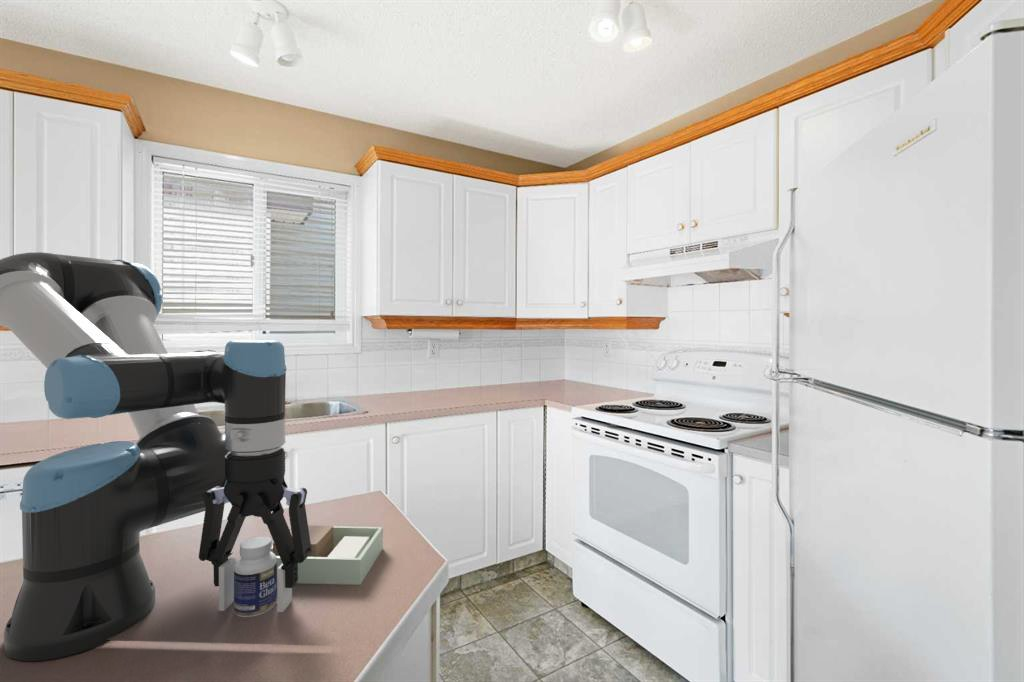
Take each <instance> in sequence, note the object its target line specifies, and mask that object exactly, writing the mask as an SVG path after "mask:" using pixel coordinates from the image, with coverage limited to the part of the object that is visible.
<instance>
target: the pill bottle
mask: <svg viewBox="0 0 1024 682" xmlns="http://www.w3.org/2000/svg"><path fill="white" fill-rule="evenodd" d="M272 541H273V540H272V538H270V537H268V536H256V537H251V538H248V539H245V540H243V541H242V542H241V543H240V544H239V556H240V557H239V558H238V559H236V563H235V565H234V602H233V612H234V615H236V616H238V617H241V618H251V617H257V616H260V615H263V614H265V613H266V612H269V611H270V610H272V609H273V608H274V607H275V605H276V604H277V558H276V555H275V554H274V553H273V552H271V548H272V545H273V543H272Z"/></svg>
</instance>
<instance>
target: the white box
mask: <svg viewBox="0 0 1024 682" xmlns="http://www.w3.org/2000/svg"><path fill="white" fill-rule="evenodd" d="M368 543H369V537H355V536H344V538H343V539H342V540H341V541H340V542H339V543H338V545H337V546H336V547H335V548H334V549H333V551H332V552H331V553H330V554H329V555H328V557H341V558H358V557H359V556H360V554H361V553H362V551H363V550H364V549H365V547H366V546H367V544H368Z"/></svg>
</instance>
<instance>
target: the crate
mask: <svg viewBox="0 0 1024 682" xmlns="http://www.w3.org/2000/svg"><path fill="white" fill-rule="evenodd" d="M332 526H333V549H334V548H335V547H336V546H337V545H338V543H339V542H340V541H341V540H342V539H343V538H344V536H355V537H369V543H368V544H367V546H366V547H365V549H364V550H363V551H362V553H361V554H360V556H359V557H358V558H341V557H307V558H306V559H305V560H304V561H303V562H302V563H298V580H297V583H296V584H302V585H303V584H305V585H307V584H308V585H310V584H312V585H345V586H346V585H347V586H350V585H353V586H361V584H362V583H363V581H364V580H365V578H366V576H367V575H368V573H369V572H370V570H371V568H372V567H373V565H374V564H375V562H376V560H377V559H378V557H379V556H380V554H381V552H382V551H383V549H384V548H383V547H384V546H383V544H384V540H383V539H384V528H383V527H382V526H351V525H350V526H349V525H348V526H347V525H346V526H345V525H343V526H342V525H339V526H338V525H337V526H336V525H332ZM271 552H273V544H272V548H271ZM276 558H277V568H278V567H279V566H280V565H281V564H282V561H281V558H280V556H276Z"/></svg>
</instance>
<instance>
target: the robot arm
mask: <svg viewBox="0 0 1024 682" xmlns="http://www.w3.org/2000/svg"><path fill="white" fill-rule="evenodd" d="M161 291H162V288H161V285H160V281H159V280H158V278H157V276H156V275H155V274H154V273H153V271H152V270H150V268H148V267H147V266H145V265H143V264H140V263H138V262H130V261H126V260H123V259H103V258H97V257H96V258H95V257H94V258H93V257H86V256H85V257H84V256H76V255H69V254H68V255H67V254H60V253H59V254H57V253H50V252H49V253H48V252H38V251H37V252H24V253H17V254H13V255H9V256H6V257H3V258H0V327H3V328H8V330H10V331H11V332H12V333H13V334H14V336H15V337H17V339H18V340H19V341H20V342H21V343H22V344H24V346H25V347H26V348H27V349H28V350H29V351H30V352H31V354H33V356H35V357H36V358H37V360H39V362H40V363H42V365H43V366H44V367H45V368H46V371H45V375H44V382H43V387H44V388H43V391H44V397H45V401H46V402H47V403H48V409H49V410H50V412H51V413H52V414H53V415H54V416H56V417H57V418H60V419H63V420H64V419H66V420H71V419H81V418H92V419H98V418H103V417H106V416H112V415H113V416H114V415H118V414H119V415H120V414H126V413H128V414H129V417H130V419H131V422H132V424H133V427H134V429H135V430H136V433H137V435H138V437H139V438H138V440H137V441H136V442H134V441H129V440H128V441H127V440H120V441H119V440H118V441H109V442H105V443H95V444H89V445H86V446H85V445H84V446H80V447H76V448H72V449H68V450H66V451H63V452H60V453H56V454H54V455H51V456H49V457H47V458H45V459H42V460H41V461H39V462H37V463H35V464H34V465H32V466H31V467H30V468H29V469H28V470H27V472H26V473H25V475H24V477H23V480H22V491H21V500H20V502H19V509H20V510H21V520H22V521H21V524H22V526H21V528H22V530H21V531H22V533H21V534H22V570H23V573H22V577H23V579H22V585H21V587H20V589H19V593H18V595H17V598H16V600H15V603H14V606H13V609H12V613H11V617H10V618H9V619H8V621H7V623H6V624H5V627H4V631H3V651H4V653H5V655H6V656H7V657H9V658H11V659H14V660H17V661H26V662H36V661H47V660H52V659H54V660H55V659H58V658H59V659H60V658H64V657H68V656H72V655H75V654H78V653H81V652H84V651H87V650H88V651H89V650H91V649H94V648H96V647H99V646H101V645H104V644H106V643H108V642H111V641H112V639H111V638H113V637H115V636H118V635H120V634H121V633H123V632H125V631H127V630H128V629H130V628H132V627H134V626H135V625H136V624H138V623H139V622H141V621H142V620H144V618H145V617H147V616H148V615H149V613H151V611H152V610H153V609H154V607H155V605H156V587H155V584H154V582H153V581H152V579H150V577H149V574H148V572H147V569H146V566H145V563H144V561H143V558H142V556H141V552H140V551H141V550H140V536H141V532H142V531H145V530H147V529H152V528H155V527H158V526H161V525H165V524H168V523H170V522H174V521H178V520H180V519H184V518H187V517H190V516H193V515H196V514H199V513H203V512H204V516H203V524H202V529H201V530H202V532H201V536H200V537H201V538H200V543H199V552H198V559H199V560H200V561H201V562H205V561H207V562H210V563H211V565H213V585H214V587H218V611H220V612H222V611H226V609H228V608H229V607H230V606H231V605H232V604H234V565H235V563H236V561H237V559H236V557H230V556H232V555H233V553H234V552H232V551H233V550H234V549H233V548H234V546H235V544H236V541H237V539H238V537H239V535H240V532H241V529H242V527H243V524H244V522H245V519H246V517H250V516H253V517H257V518H261V520H262V522H263V524H265V525H267V526H266V527H267V529H268V531H269V533H270V537H271V540H272V541H273V543H275V546H276V548H277V551H278V553H279V556H280V558H281V561H282V564H281V565H280V566H279V567H278V568H277V600H276V604H277V606H276V607H277V610H276V611H277V613H283V612H284V611H285V610H286V609H287V608H288V607H289V605H290V604H291V603H292V602H293V588H294V586H295V585H296V584H298V583H297V580H298V563H302V562H303V561H304V560H305V559H306V558H307V557H308V556H309V555H310V554H311V552H312V549H311V542H310V536H309V529H308V525H309V523H308V516H307V511H306V510H307V509H306V500H307V495H308V490H307V488H305V487H301V488H299V489H296V488H293V487H288V484H287V482H286V479H285V475H286V474H285V473H286V449H285V448H284V447H283V446H284V445H285V444H286V387H287V386H286V381H287V379H286V377H287V365H286V358H285V357H286V355H285V346H284V345H283V343H282V342H280V341H279V340H272V339H271V340H268V339H267V340H264V339H263V340H262V339H246V340H245V339H236V340H230V341H228V342H227V343H226V345H225V346H224V351H216V350H210V349H207V350H195V351H191V352H190V351H189V352H174V353H168V350H167V349H166V347H165V345H164V343H163V341H162V339H161V337H160V335H159V333H158V331H157V329H156V327H155V326H154V325H155V324H154V323H155V321H156V320H157V317H158V316H159V314H160V312H161V310H162V304H163V295H162V294H161V293H160V292H161ZM206 403H218V404H224V432H220V430H219V428H218V426H217V423H216V422H215V421H214V419H213V418H212V417H210V416H208V415H204V414H199V412H198V410H197V408H196V406H195V405H198V404H199V405H200V404H206ZM284 498H285V499H286V503H285V504H286V506H288V517H289V523H290V527H289V526H288V523H287V521H286V518H285V515H284V512H285V510H284V507H283V505H282V503H281V502H282V500H283V499H284ZM228 503H230V505H231V508H230V511H229V513H228V516H227V518H226V521H227V522H226V523H225V527H224V529H223V531H222V524H223V519H224V511H225V510H224V509H225V504H228ZM290 528H291V531H292V535H291V532H290V530H289V529H290ZM221 532H222V534H221ZM229 557H230V558H229Z"/></svg>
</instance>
